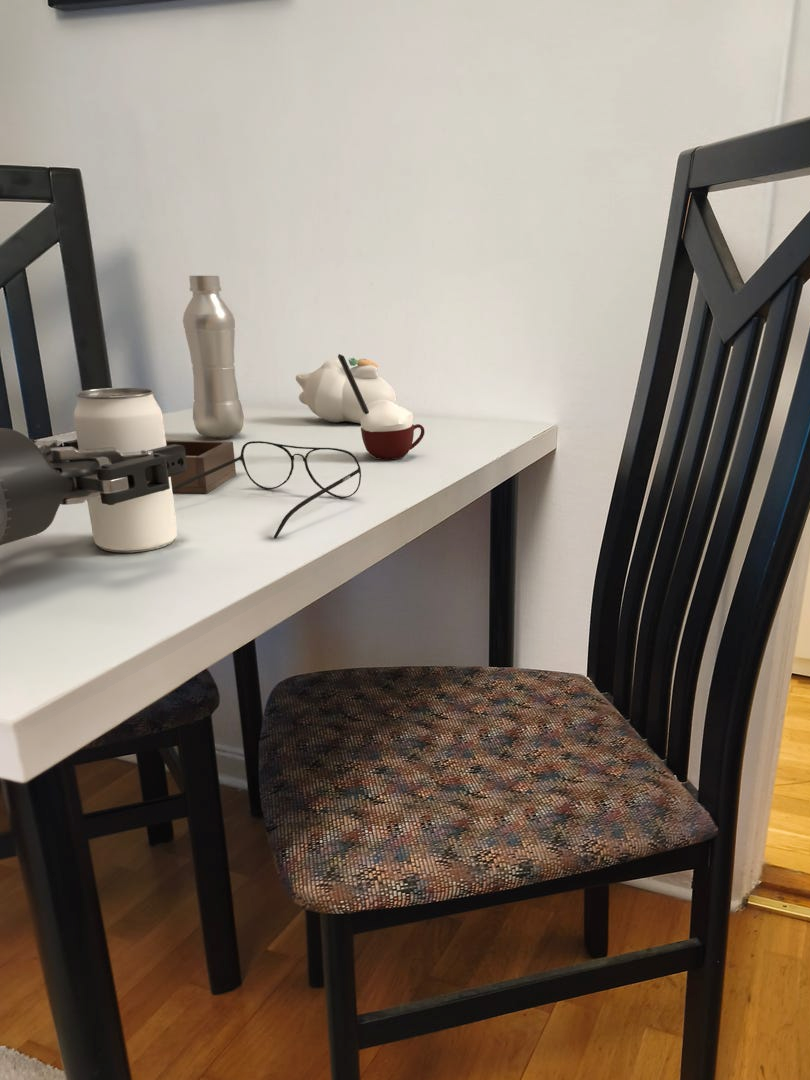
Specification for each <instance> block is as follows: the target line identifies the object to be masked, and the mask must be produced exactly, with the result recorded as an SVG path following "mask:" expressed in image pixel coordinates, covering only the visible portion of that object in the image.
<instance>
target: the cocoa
mask: <svg viewBox="0 0 810 1080" xmlns="http://www.w3.org/2000/svg"><path fill="white" fill-rule="evenodd" d="M337 359H338V360H339V361H340V363H341V365H342V367H343V369H344V371H345V374H346V376H347V378H348V380H349V382H350V385H351V387H352V389H353V391H354V393H355V396H356V398H357V400H358V402H359V404H360V407H361V409H362V414H361V418H360V423H359V424H360V426H361V427H360V433H361V438H362V442H363V445H364V447H365V450H366V452H367V453H368V454H369V455H370V456H371V457H373V458H374V459H377V460H381V461H383V460H386V461H387V460H388V461H389V460H397V459H398V460H399V459H401V458H404V457H405V456H406V455H408V454H409V452H410V450H412V449H414V448H415V447H416V446H418V445H419V444H420V442H421V441H422V440H423V438H424V436H425V427H424V426H423V425H421V424H419V423H416V424H413V423H414V415H413V412H411V411H410V410H408V409H406V408H405V407H402V406H400V405H398V404H397V405H396V404H395V403H393V402H391V401H388V400H376V401H373V402H370V403H368V404H367V405H366V404H365V402H364V400H363V397H362V395H361V393H360V391H359V388H358V386H357V384H356V382H355V380H354V377H353V375H352V373H351V371H350V369H351V368H350V365H349V364H348V362H347V360H346V357H345V356H344V355H343V354H340V353H338V354H337ZM416 429H419V430H420V434H419V436H418V437H417V438H416V440H415V441H414V437H415V436H414V434H415V430H416Z"/></svg>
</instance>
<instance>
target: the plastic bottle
mask: <svg viewBox="0 0 810 1080" xmlns="http://www.w3.org/2000/svg"><path fill="white" fill-rule="evenodd" d="M188 279H189V291H190V292H191V293H192V297H191V298H190V301H189V302H188V304H187V305H186V308H185V310H184V312H183V317H182V324H183V329H184V333H185V338H186V342H187V346H188V350H189V354H190V363H191V367H192V368H191V369H192V375H193V376H192V377H193V405H192V420H193V421H192V422H193V424H194V428H195V430H196V431H197V433H198V434H199V435H200V436H204V437H210V438H214V439H226V438H229V437H232V436H235V435H239V434H240V433H242V430H243V428H244V421H245V420H244V419H245V415H244V409H243V406H242V401H241V400H240V396H239V390H238V383H237V379H236V366H235V340H236V339H235V337H236V330H235V328H236V320H235V317H234V314H233V312H232V310H231V309H230V307H229V306H228V305H227V303H226V302H225V301H224V300H223V298H222V297H221V293H220V292H222V287H221V282H220V275H189V276H188Z"/></svg>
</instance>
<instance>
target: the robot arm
mask: <svg viewBox="0 0 810 1080" xmlns="http://www.w3.org/2000/svg"><path fill="white" fill-rule="evenodd" d="M102 457H105V458H108V461H109V463H108V464H105V465H102V466H101V467H100V463H99V461H98V460H97V459H96V458H102ZM186 470H187V460H186V452H185V448H184V446H183V445H176V444H173V445H169V446H164V447H160V448H156V449H151V450H141V451H138V452H126V453H120V452H119V451H118V450H117V449H116V448H114V447H102V448H90V449H79V448H78V442H77V439H73V440H67V441H62V440H58V439H50V440H35V439H33V438H30V437H28V436H26V435H25V434H23V433H21V432H20V431H17V430H15V429H12V428H7V427H0V546H2V545H6V544H9V543H13V542H16V541H19V540H23V539H27V538H30V537H33V536H37V535H39V534H42V533H43V532H44V531H46V530H47V529H48V528H49V527H50V526H51V525H52V523H53V522H54V520H55V518H56V516H57V513H58V510H59V508H60V506H61V505H64V506H69V505H79V504H83V503H85V502H86V501H87V499H94V498H101V502H102V504H107V505H114V504H116V503H119V502H123V501H127V500H130V499H134V498H138V497H141V496H145V495H149V494H152V493H156V492H160V491H165V490H167V489H169V488H170V486H169V478H168V477H171V476H175V475H179V474H182V473H185V472H186Z"/></svg>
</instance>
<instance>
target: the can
mask: <svg viewBox="0 0 810 1080" xmlns="http://www.w3.org/2000/svg"><path fill="white" fill-rule="evenodd" d="M154 393H155V391H154V390H153V389H151V388H144V387H105V388H93V389H86V390H85V389H84V390H81V391H78V392H76V393H75V396H76V397H77V403H76V405H75V408H74V411H73V421H74V428H75V435H76V440H77V442H78V448H79V449H90V448H102V447H114V448H116V449H117V450H118V451H119V452H120V453H126V452H138V451H141V450H151V449H156V448H160V447H164V446H166V440H167V439H166V432H165V423H164V417H163V412H162V408H161V407H160V405H159V404H158V402H157V401H156V399H155V397H154ZM96 459H97V460H98V461H99V463H100V467H101V466H102V465H105V464H108V463H109V461H108V458H105V457H102V458H96ZM168 478H169V486H170V488H169V489H167V490H165V491H160V492H156V493H152V494H149V495H145V496H141V497H138V498H134V499H130V500H127V501H123V502H119V503H116V504H114V505H107V504H102V502H101V498H94V499H87V500H86V501H87V502H86V503H87V507H88V514H89V519H90V525H91V530H92V537H93V541H94V543H95V544H96V546H98V547H99V549H101V550H103V551H106V552H110V553H121V554H122V553H129V554H130V553H141V552H148V551H153V550H154V551H155V550H159V549H162V548H165V547H167V546H169V545H172V544H173V543H174V541H175V539H176V538H177V537H178V526H177V518H176V509H175V503H174V500H175V499H174V492H172V485H171V477H168Z"/></svg>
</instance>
